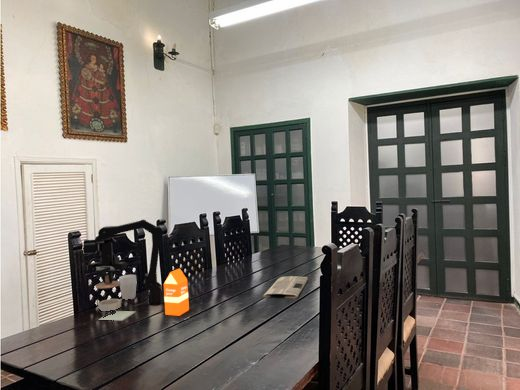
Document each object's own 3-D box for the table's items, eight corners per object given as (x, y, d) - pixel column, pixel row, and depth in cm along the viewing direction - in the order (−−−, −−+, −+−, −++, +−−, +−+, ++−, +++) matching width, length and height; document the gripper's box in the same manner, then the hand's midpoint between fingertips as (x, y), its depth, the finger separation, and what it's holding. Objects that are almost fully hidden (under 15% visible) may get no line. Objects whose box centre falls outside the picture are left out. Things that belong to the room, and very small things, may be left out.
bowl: (124, 305, 199) (123, 298, 199) (113, 312, 190) (112, 305, 189) (106, 305, 201) (106, 298, 201) (94, 311, 192) (94, 304, 191)
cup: (132, 301, 207) (130, 278, 207) (116, 300, 209) (115, 278, 209) (140, 296, 216) (139, 274, 216) (125, 295, 218) (124, 274, 217)
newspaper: (297, 299, 197) (297, 294, 197) (260, 298, 202) (260, 293, 202) (308, 281, 232) (307, 276, 232) (276, 280, 237) (276, 276, 237)
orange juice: (165, 314, 182) (162, 272, 181) (175, 308, 190) (173, 268, 190) (179, 315, 179) (177, 272, 179) (189, 309, 188) (187, 268, 187)
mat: (135, 312, 188) (135, 311, 188) (122, 321, 176) (122, 320, 176) (112, 311, 190) (112, 311, 190) (98, 320, 178) (98, 319, 178)
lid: (125, 282, 200) (124, 273, 199) (112, 288, 188) (111, 278, 188) (104, 282, 202) (104, 273, 202) (90, 288, 190) (90, 278, 190)
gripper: (131, 249, 201) (133, 279, 201) (99, 249, 204) (101, 279, 205) (120, 252, 190) (122, 284, 190) (85, 253, 193) (87, 284, 194)
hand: (108, 283), depth 195 cm, fingers closed on lid, 3 cm apart
